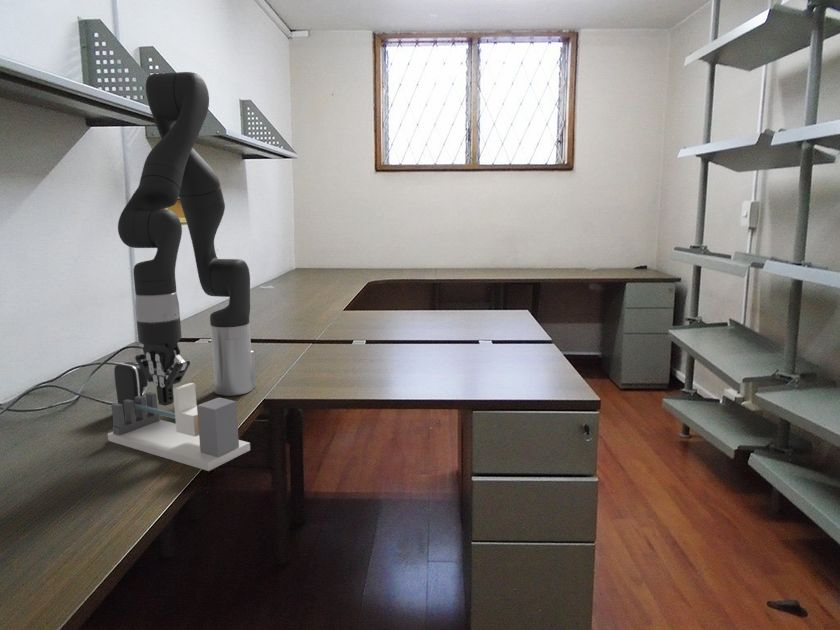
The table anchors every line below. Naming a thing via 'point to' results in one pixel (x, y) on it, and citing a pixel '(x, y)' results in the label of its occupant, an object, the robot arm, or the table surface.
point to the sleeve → (186, 409)
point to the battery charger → (129, 381)
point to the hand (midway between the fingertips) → (166, 403)
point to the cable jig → (163, 440)
